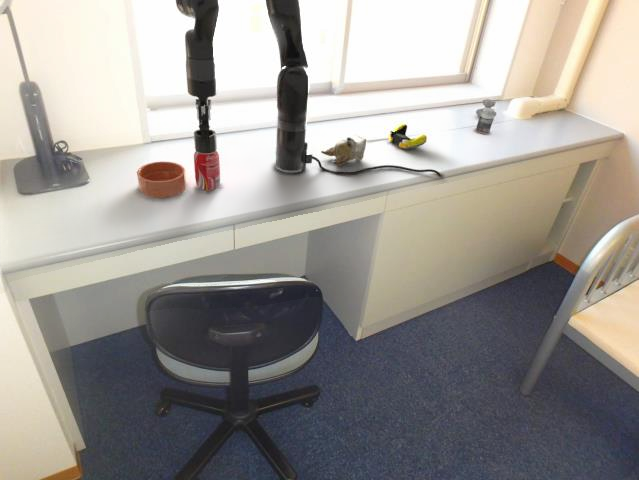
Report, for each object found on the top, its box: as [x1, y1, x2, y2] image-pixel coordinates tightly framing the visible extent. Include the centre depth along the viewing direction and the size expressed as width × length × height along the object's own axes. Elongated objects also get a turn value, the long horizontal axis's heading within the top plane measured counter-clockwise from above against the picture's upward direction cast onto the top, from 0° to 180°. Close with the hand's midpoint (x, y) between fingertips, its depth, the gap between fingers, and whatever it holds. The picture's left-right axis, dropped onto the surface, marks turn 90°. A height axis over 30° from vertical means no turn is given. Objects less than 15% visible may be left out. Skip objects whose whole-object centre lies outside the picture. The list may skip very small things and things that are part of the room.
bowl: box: [136, 161, 187, 199], centre depth 126 cm, size 13×13×6 cm
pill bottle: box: [475, 107, 496, 135], centre depth 189 cm, size 6×6×10 cm
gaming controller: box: [388, 123, 428, 150], centre depth 171 cm, size 15×6×10 cm
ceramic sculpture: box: [320, 137, 367, 166], centre depth 152 cm, size 11×9×15 cm
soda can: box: [193, 150, 221, 192], centre depth 128 cm, size 7×7×12 cm
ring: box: [193, 128, 218, 154], centre depth 123 cm, size 6×6×5 cm
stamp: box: [475, 98, 497, 119], centre depth 204 cm, size 9×7×8 cm
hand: (205, 135), depth 122 cm, fingers open, 8 cm apart
